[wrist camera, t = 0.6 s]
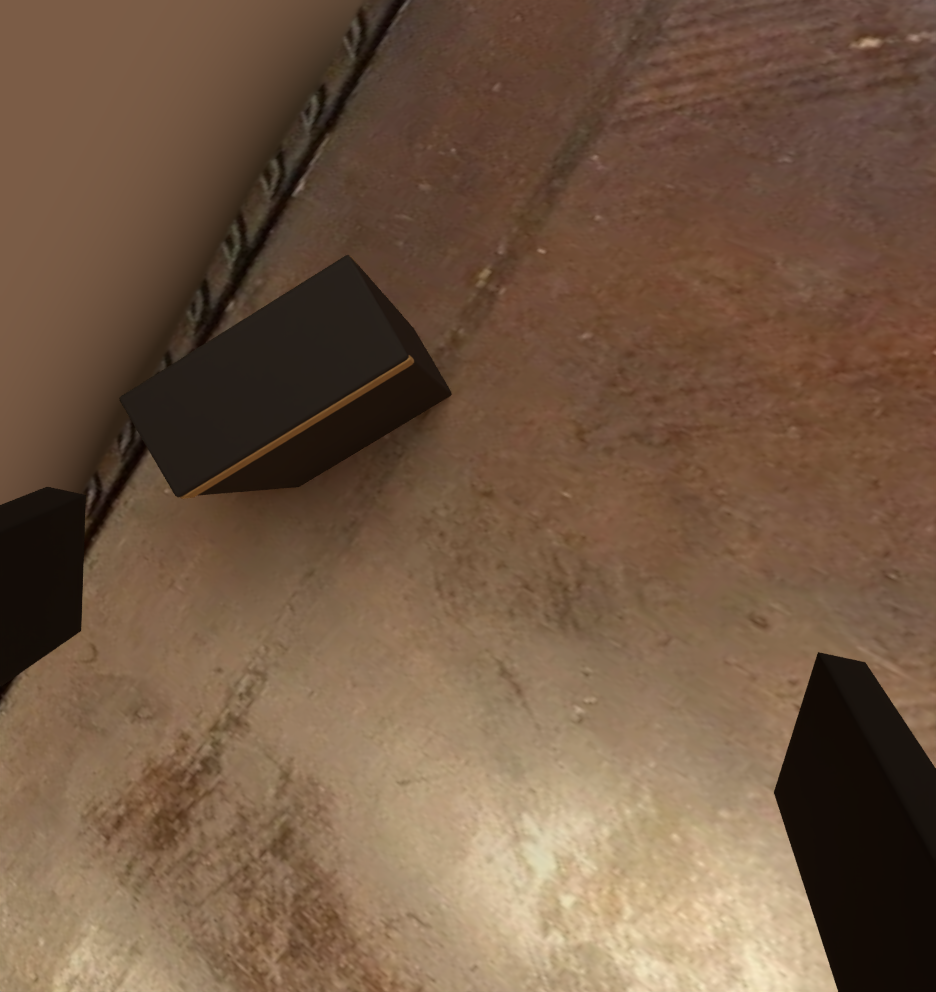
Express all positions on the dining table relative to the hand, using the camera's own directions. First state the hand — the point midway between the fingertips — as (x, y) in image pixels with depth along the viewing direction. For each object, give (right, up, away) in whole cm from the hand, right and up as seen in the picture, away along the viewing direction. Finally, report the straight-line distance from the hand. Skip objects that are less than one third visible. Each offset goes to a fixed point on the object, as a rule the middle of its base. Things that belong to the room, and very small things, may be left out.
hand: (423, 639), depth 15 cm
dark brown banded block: (-4, +6, +17) cm, 19 cm away
